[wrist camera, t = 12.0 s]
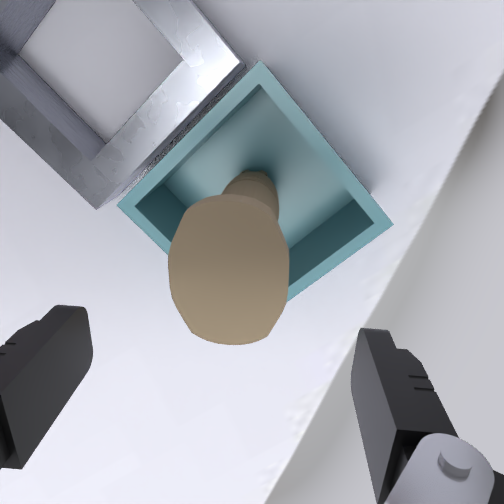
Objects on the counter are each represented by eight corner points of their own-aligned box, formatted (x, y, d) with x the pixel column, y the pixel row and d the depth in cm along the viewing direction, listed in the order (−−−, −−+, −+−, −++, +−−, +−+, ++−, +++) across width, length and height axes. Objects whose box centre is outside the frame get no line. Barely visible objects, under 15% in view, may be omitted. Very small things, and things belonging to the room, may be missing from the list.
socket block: (-29, 51, 28) (-76, 46, 24) (89, -125, 23) (53, -164, 20) (118, 195, 31) (96, 209, 28) (245, 65, 27) (239, 61, 23)
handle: (288, 145, 28) (292, 202, 14) (284, 230, 30) (285, 347, 17) (221, 144, 28) (162, 198, 14) (223, 228, 31) (174, 341, 17)
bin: (151, 180, 31) (116, 205, 24) (266, 66, 27) (260, 59, 20) (254, 284, 33) (246, 331, 27) (370, 194, 30) (393, 224, 23)
